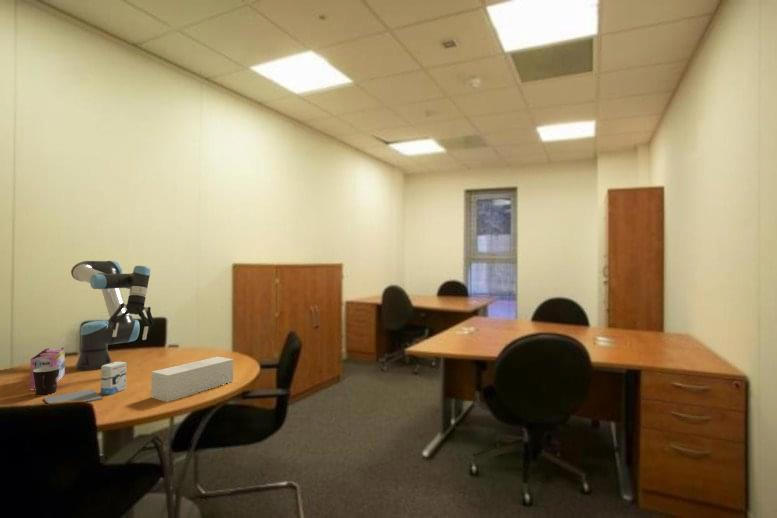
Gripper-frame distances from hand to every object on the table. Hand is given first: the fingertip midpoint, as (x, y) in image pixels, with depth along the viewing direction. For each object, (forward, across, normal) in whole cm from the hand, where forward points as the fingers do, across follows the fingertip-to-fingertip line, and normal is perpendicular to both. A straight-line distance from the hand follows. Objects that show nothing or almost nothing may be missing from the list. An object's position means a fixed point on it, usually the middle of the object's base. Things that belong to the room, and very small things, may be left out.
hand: (129, 338), depth 207 cm
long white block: (+24, +13, -45) cm, 53 cm away
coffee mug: (+26, -30, -5) cm, 40 cm away
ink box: (+25, -10, -22) cm, 35 cm away
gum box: (+22, -25, +14) cm, 36 cm away
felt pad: (+28, -24, -21) cm, 42 cm away
